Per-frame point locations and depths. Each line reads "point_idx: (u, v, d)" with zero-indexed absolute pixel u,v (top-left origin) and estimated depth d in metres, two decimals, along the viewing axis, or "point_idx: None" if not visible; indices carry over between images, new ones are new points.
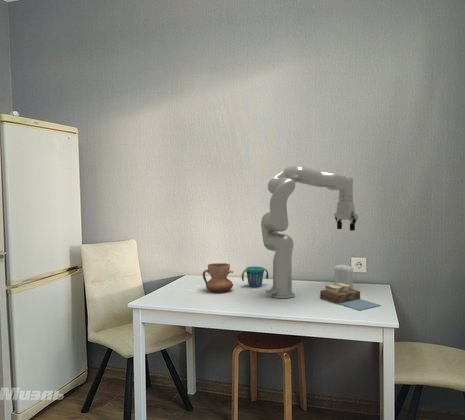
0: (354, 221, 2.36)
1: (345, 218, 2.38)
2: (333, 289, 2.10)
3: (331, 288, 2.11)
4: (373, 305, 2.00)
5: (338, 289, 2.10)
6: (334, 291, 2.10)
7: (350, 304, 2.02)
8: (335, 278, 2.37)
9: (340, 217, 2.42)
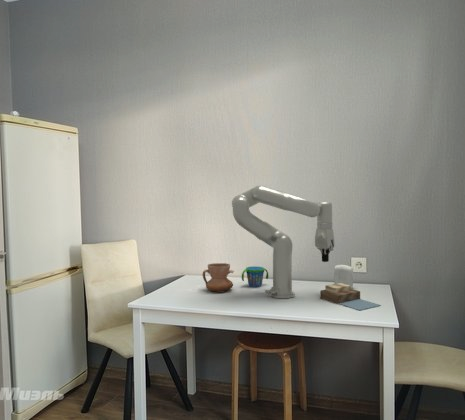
0: (327, 252, 2.19)
1: (324, 247, 2.18)
2: (333, 289, 2.10)
3: (331, 288, 2.11)
4: (373, 305, 2.00)
5: (338, 289, 2.10)
6: (334, 291, 2.10)
7: (350, 304, 2.02)
8: (335, 278, 2.37)
9: (318, 246, 2.21)
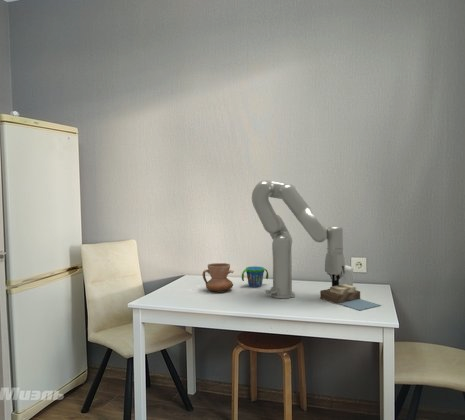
0: (338, 278, 2.14)
1: (334, 273, 2.12)
2: (338, 290, 2.08)
3: (336, 289, 2.09)
4: (373, 305, 2.00)
5: (343, 290, 2.07)
6: (339, 292, 2.07)
7: (350, 304, 2.02)
8: None
9: (328, 271, 2.16)
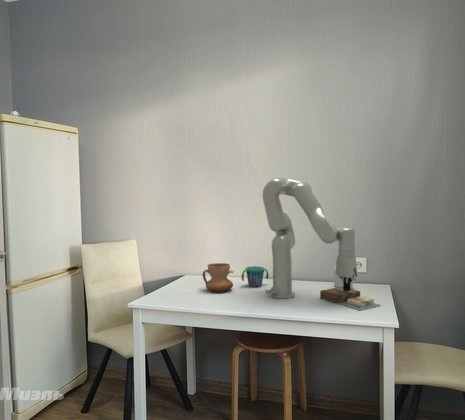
0: (349, 281, 2.07)
1: (346, 276, 2.06)
2: (349, 303, 2.02)
3: (351, 304, 2.00)
4: (373, 305, 2.00)
5: None
6: (348, 301, 2.02)
7: None
8: (335, 278, 2.37)
9: (340, 274, 2.09)
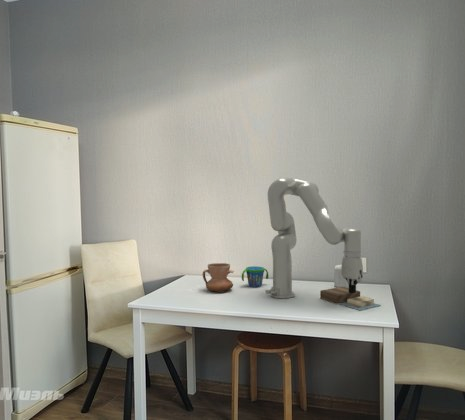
0: (355, 283, 2.04)
1: (352, 278, 2.03)
2: (349, 303, 2.02)
3: (351, 304, 2.00)
4: (373, 305, 2.00)
5: None
6: (348, 301, 2.02)
7: None
8: (335, 278, 2.37)
9: (345, 276, 2.06)
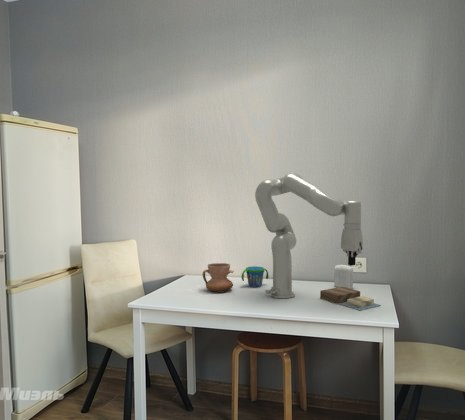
0: (355, 255, 2.03)
1: (351, 249, 2.02)
2: (349, 303, 2.02)
3: (351, 304, 2.00)
4: (373, 305, 2.00)
5: None
6: (348, 301, 2.02)
7: None
8: (335, 278, 2.37)
9: (345, 248, 2.05)
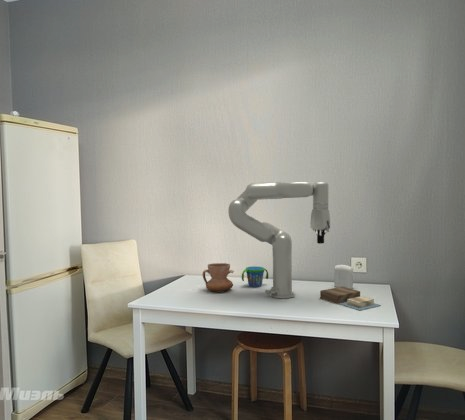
0: (323, 233, 2.14)
1: (319, 228, 2.13)
2: (349, 303, 2.02)
3: (351, 304, 2.00)
4: (373, 305, 2.00)
5: None
6: (348, 301, 2.02)
7: None
8: (335, 278, 2.37)
9: (314, 227, 2.17)
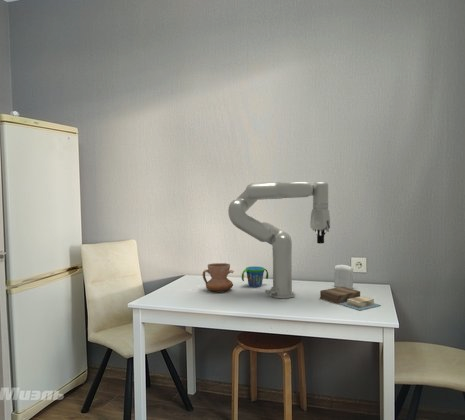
0: (323, 233, 2.14)
1: (319, 228, 2.13)
2: (349, 303, 2.02)
3: (351, 304, 2.00)
4: (373, 305, 2.00)
5: None
6: (348, 301, 2.02)
7: None
8: (335, 278, 2.37)
9: (314, 227, 2.17)
